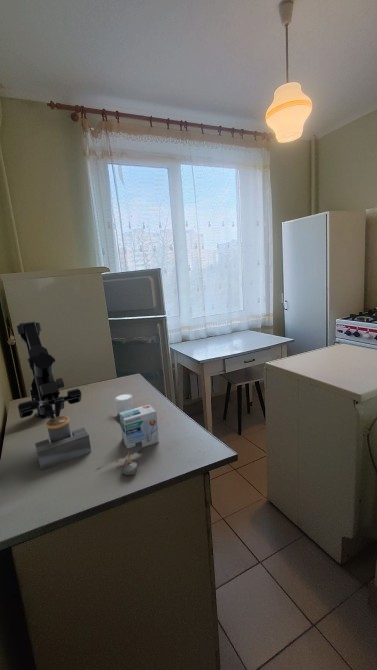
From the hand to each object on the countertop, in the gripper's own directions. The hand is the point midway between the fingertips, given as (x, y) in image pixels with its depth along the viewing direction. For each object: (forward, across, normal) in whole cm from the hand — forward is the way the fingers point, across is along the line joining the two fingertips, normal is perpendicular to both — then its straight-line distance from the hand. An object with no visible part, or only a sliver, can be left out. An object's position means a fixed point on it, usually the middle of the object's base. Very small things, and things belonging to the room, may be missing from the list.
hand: (57, 426), depth 93 cm
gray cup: (+7, 0, +3) cm, 8 cm away
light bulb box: (+15, +22, -3) cm, 27 cm away
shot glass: (-2, +26, +14) cm, 30 cm away
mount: (+7, 0, +5) cm, 8 cm away
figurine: (+24, +13, -11) cm, 29 cm away
